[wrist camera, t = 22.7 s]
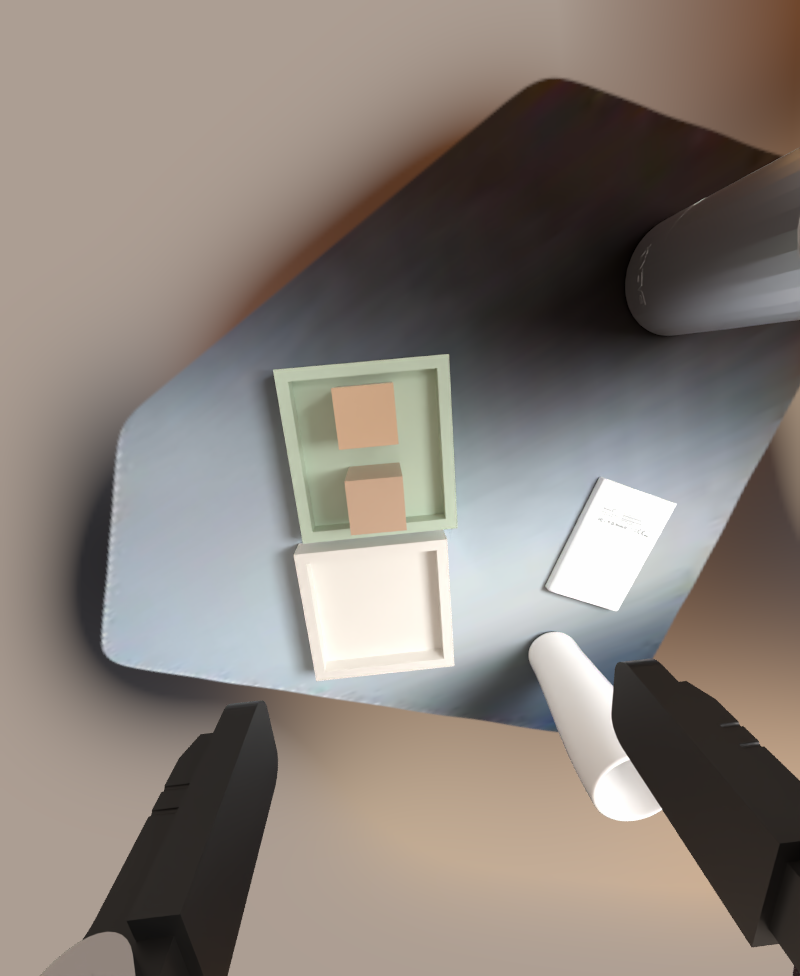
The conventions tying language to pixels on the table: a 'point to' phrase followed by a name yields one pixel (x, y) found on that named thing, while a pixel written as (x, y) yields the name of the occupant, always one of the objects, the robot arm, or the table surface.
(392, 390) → the tan boxy piece
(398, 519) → the tan block
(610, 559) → the external hard drive
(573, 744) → the drinking glass
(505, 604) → the table surface
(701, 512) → the table surface
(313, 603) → the tray
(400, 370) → the tray
